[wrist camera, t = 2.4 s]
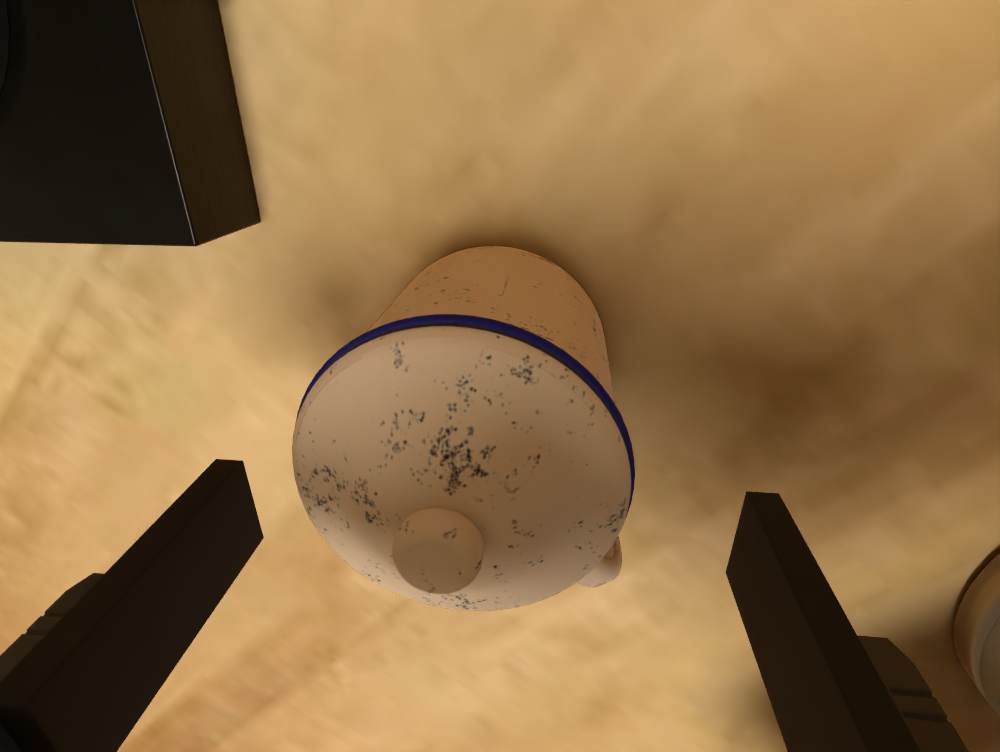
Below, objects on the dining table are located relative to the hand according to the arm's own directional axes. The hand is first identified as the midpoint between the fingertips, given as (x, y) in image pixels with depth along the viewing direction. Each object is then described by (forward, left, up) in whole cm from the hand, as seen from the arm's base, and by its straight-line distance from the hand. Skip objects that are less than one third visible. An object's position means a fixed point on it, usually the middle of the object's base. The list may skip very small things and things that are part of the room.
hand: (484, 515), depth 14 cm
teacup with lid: (0, 0, -9) cm, 9 cm away
